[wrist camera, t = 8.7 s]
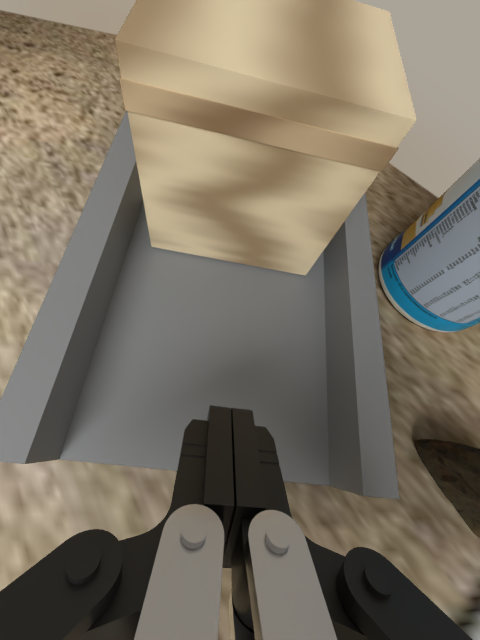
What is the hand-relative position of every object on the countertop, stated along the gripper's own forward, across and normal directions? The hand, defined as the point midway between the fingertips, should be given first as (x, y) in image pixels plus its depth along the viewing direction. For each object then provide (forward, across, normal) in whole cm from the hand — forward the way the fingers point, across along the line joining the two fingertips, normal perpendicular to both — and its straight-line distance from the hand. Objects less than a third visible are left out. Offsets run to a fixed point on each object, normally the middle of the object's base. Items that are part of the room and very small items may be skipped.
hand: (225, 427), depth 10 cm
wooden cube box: (+13, 0, -7) cm, 15 cm away
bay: (+10, 0, -3) cm, 11 cm away
